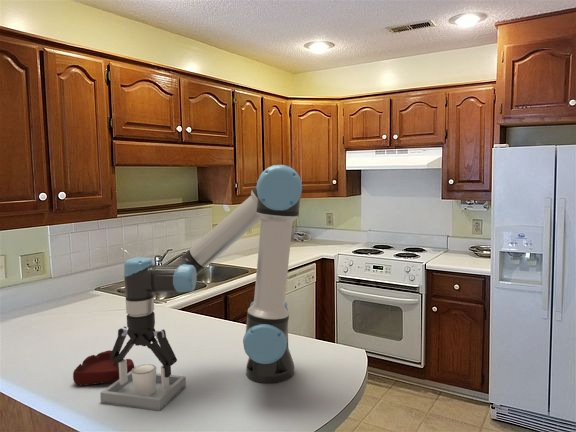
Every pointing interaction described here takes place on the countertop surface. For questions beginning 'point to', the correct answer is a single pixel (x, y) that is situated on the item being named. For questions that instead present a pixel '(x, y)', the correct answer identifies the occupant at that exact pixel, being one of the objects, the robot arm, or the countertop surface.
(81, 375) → the ashtray
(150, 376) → the white cup
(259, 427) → the countertop surface
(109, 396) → the tray
